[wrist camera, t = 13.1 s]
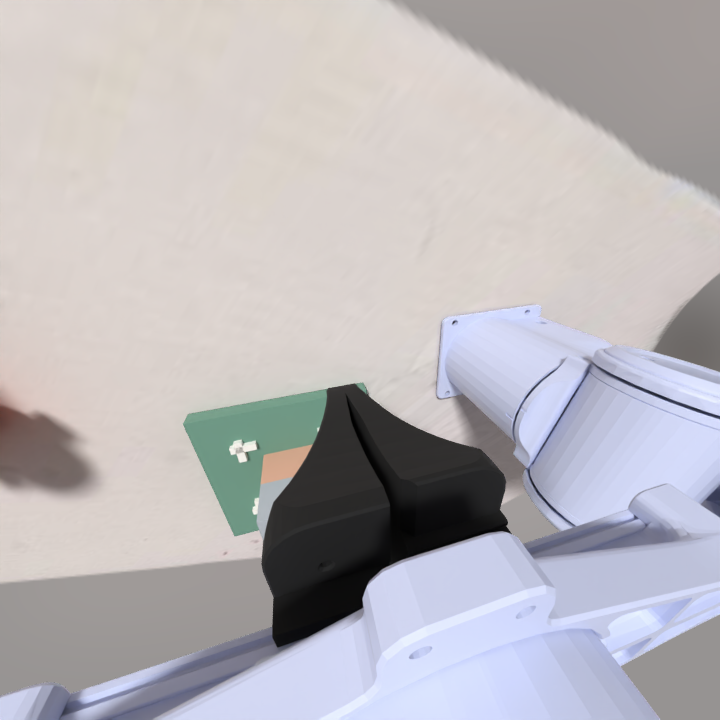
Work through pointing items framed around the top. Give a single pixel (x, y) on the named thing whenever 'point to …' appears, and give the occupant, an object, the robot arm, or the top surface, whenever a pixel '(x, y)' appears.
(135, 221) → the top surface
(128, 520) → the top surface
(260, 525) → the brick stack
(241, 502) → the base plate
